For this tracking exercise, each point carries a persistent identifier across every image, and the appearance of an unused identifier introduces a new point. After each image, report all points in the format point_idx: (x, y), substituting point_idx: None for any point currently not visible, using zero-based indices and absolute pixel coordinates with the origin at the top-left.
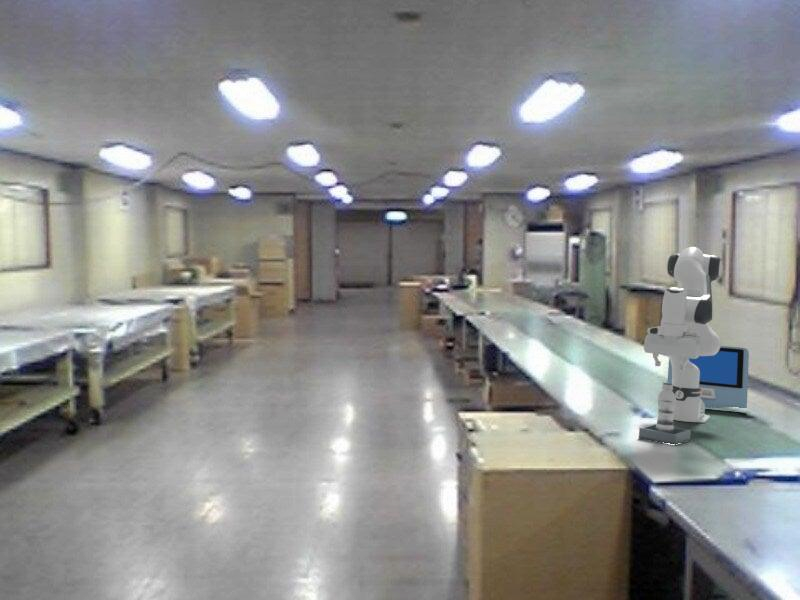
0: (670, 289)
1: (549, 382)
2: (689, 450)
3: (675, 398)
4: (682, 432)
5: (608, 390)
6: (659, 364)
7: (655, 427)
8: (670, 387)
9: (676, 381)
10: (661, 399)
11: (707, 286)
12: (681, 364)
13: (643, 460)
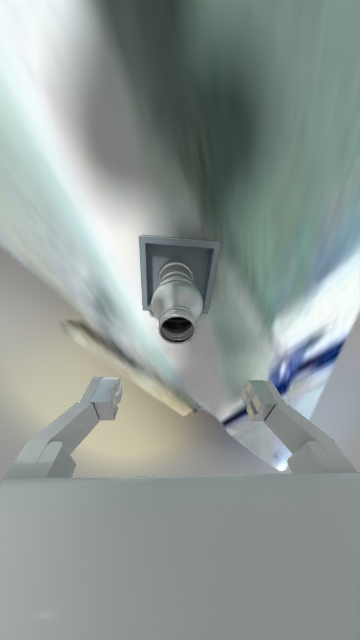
0: None
1: None
2: (227, 314)
3: (202, 307)
4: (211, 282)
5: None
6: (118, 395)
7: (146, 246)
8: (190, 333)
9: None
10: (169, 323)
11: None
12: (259, 409)
13: (195, 387)
